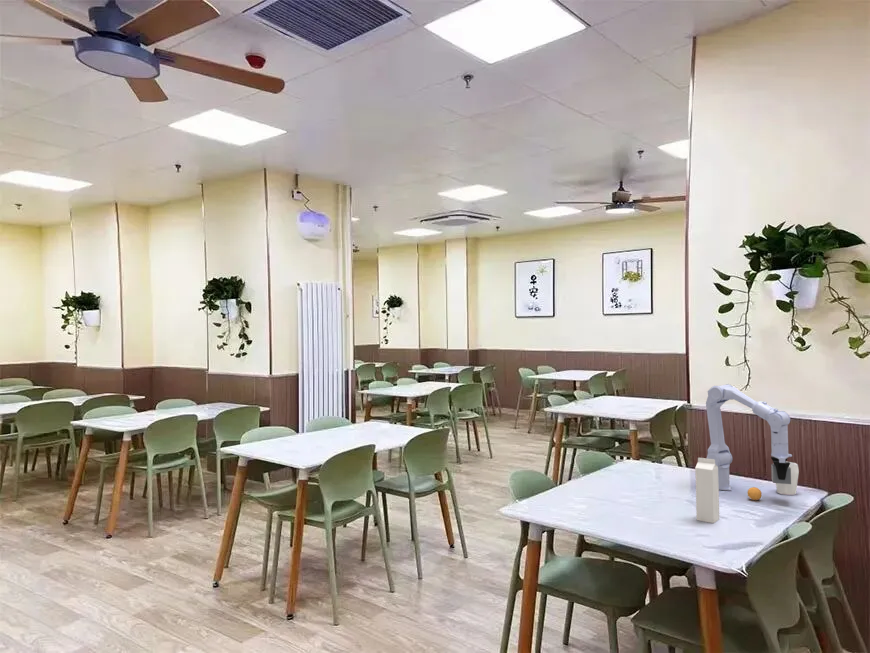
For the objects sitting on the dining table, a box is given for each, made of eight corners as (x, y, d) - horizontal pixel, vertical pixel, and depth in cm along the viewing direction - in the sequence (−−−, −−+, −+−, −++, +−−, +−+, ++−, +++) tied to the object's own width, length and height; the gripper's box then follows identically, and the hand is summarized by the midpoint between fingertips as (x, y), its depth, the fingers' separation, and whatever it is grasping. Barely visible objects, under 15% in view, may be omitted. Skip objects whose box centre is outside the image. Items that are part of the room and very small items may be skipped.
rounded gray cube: (773, 482, 234) (772, 467, 234) (771, 479, 240) (771, 464, 240) (791, 484, 232) (790, 468, 232) (789, 480, 237) (788, 465, 237)
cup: (792, 490, 252) (791, 461, 252) (803, 496, 243) (802, 466, 243) (769, 490, 253) (769, 461, 253) (780, 496, 244) (779, 466, 244)
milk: (702, 516, 221) (700, 455, 221) (719, 519, 217) (718, 458, 217) (696, 520, 217) (694, 458, 217) (714, 523, 212) (712, 460, 213)
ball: (748, 501, 238) (747, 488, 238) (747, 497, 242) (746, 485, 242) (762, 502, 236) (762, 489, 236) (761, 498, 240) (760, 486, 240)
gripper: (794, 446, 227) (795, 482, 227) (789, 439, 241) (790, 474, 241) (772, 445, 230) (773, 481, 230) (768, 439, 244) (769, 472, 243)
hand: (780, 477), depth 236 cm, fingers closed on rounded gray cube, 6 cm apart
